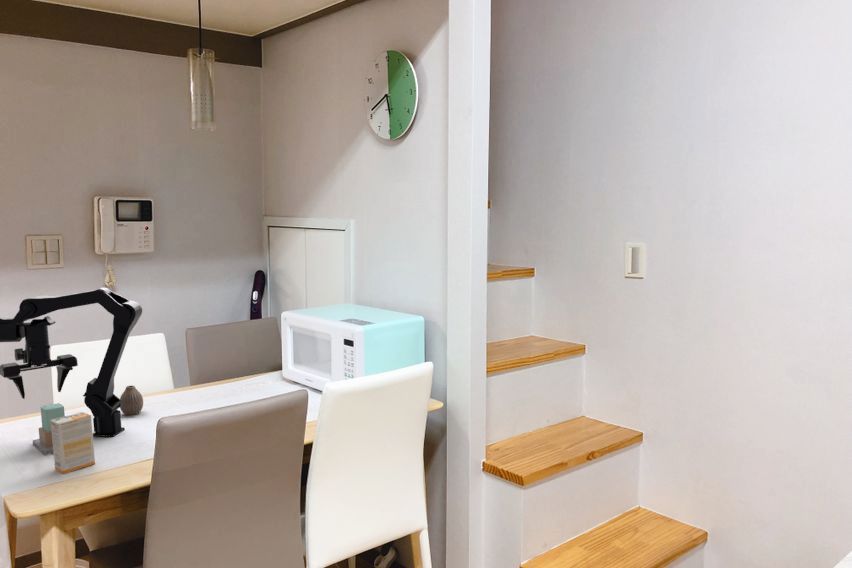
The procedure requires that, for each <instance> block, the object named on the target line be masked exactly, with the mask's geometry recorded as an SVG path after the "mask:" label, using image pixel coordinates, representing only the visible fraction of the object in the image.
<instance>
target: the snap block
mask: <svg viewBox="0 0 852 568" xmlns="http://www.w3.org/2000/svg"><path fill="white" fill-rule="evenodd" d="M40 414H41V427H42V428H43V429H44V430H46V431H47V432H49V431H51V421H50V420H52V419H56V418H60V417H64V416H66V415H65V406H64V405H63V404H61V403H59V402H58V403H53V404H47V405H41V406H40Z"/></svg>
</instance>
